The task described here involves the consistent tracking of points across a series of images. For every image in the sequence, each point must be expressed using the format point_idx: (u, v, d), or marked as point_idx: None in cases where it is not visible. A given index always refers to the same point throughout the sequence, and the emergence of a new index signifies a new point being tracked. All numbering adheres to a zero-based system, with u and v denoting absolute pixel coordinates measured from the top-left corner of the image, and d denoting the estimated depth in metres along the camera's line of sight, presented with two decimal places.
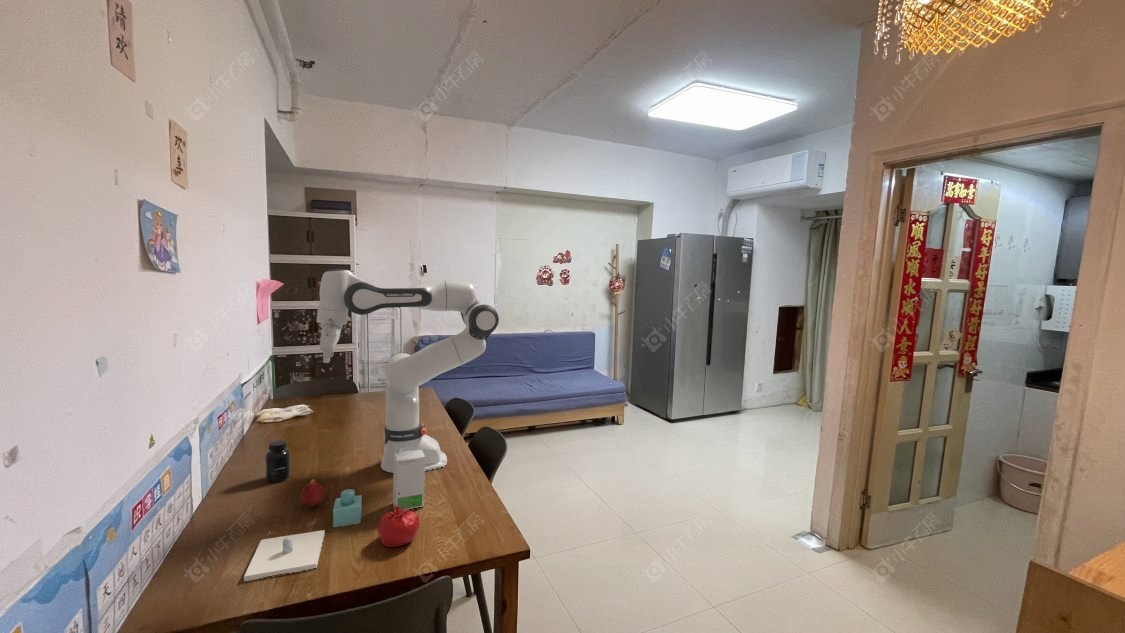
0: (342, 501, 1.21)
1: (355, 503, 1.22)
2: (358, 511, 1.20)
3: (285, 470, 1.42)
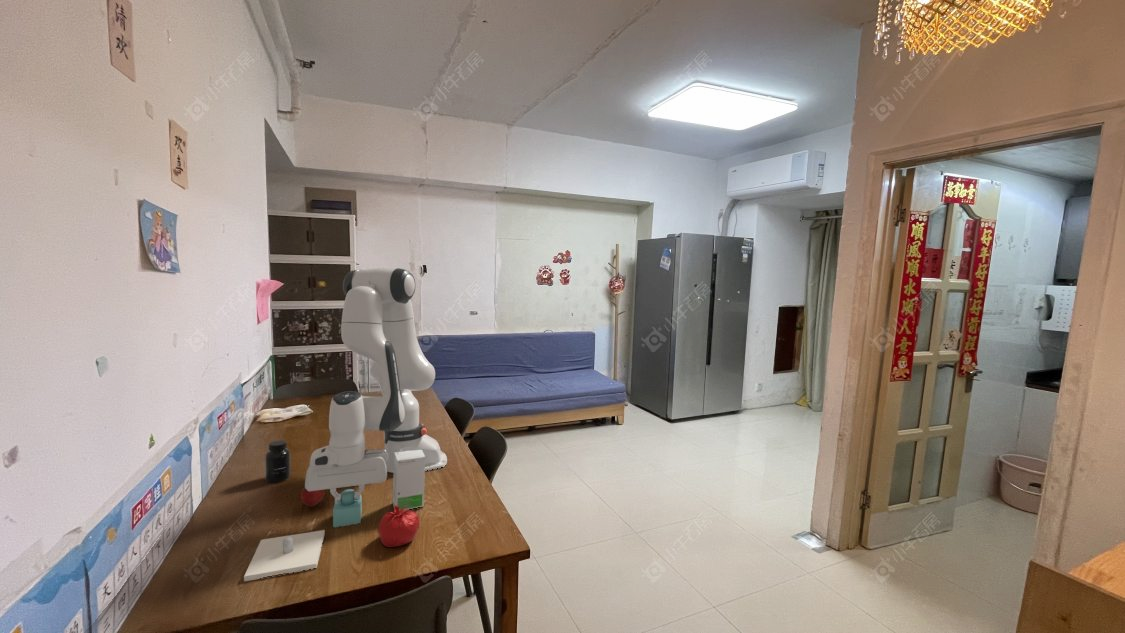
0: (342, 501, 1.21)
1: (355, 503, 1.22)
2: (358, 511, 1.20)
3: (285, 470, 1.42)
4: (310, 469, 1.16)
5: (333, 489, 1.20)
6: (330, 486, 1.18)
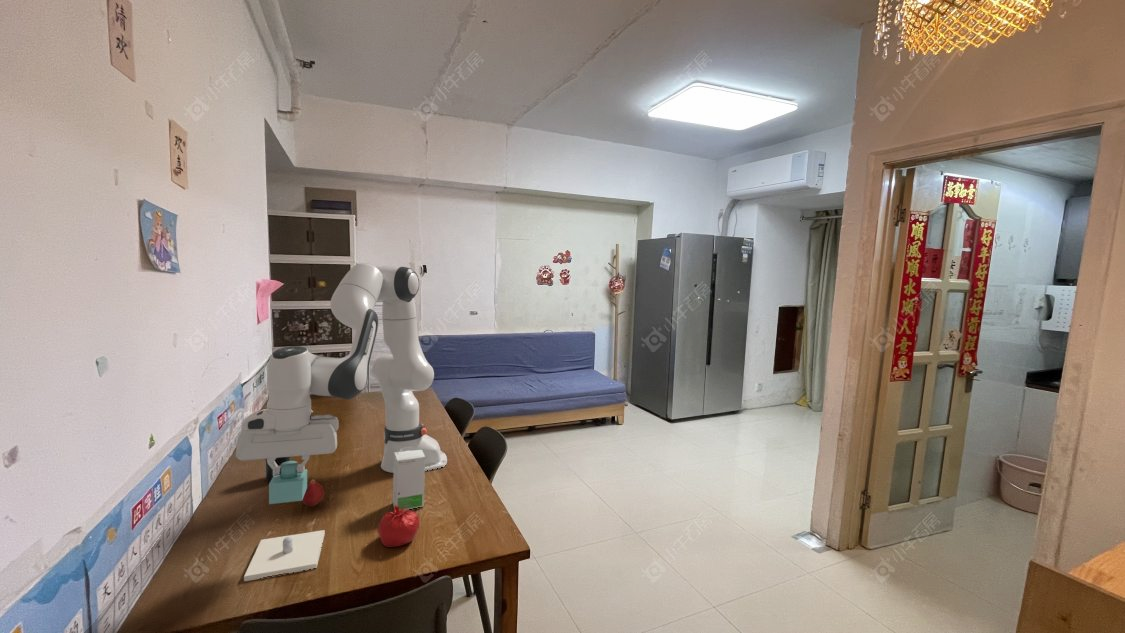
0: (281, 474, 1.03)
1: (297, 477, 1.04)
2: (300, 486, 1.03)
3: None
4: (242, 434, 0.99)
5: (271, 459, 1.02)
6: (267, 455, 1.01)
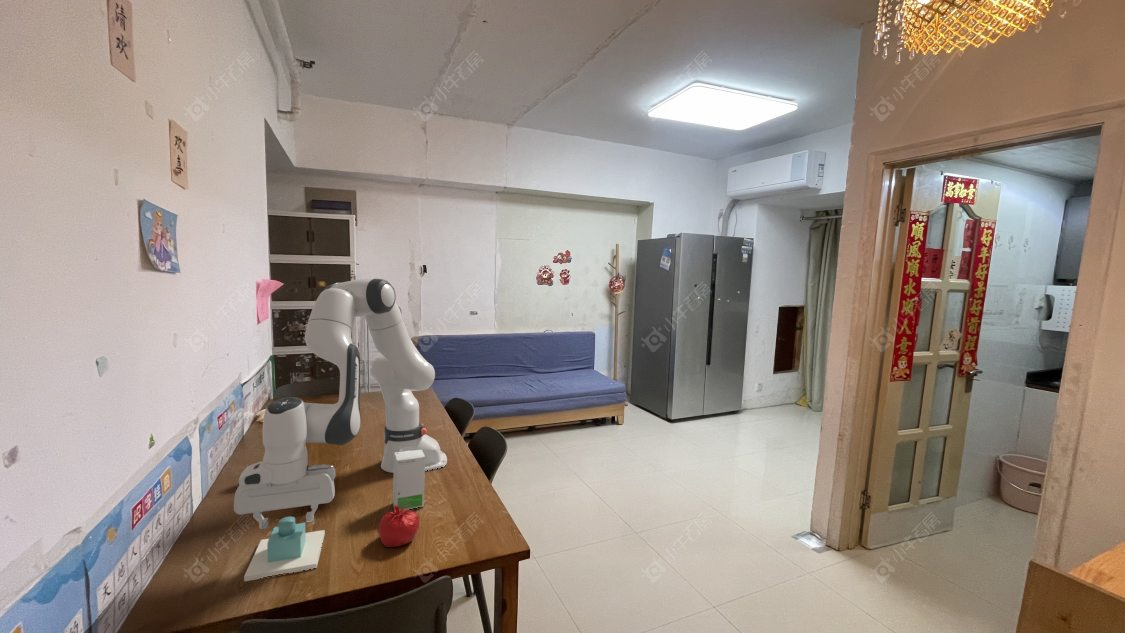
0: (279, 531, 1.04)
1: (295, 533, 1.05)
2: (298, 543, 1.04)
3: None
4: (239, 489, 0.99)
5: (257, 513, 1.02)
6: (264, 508, 1.02)
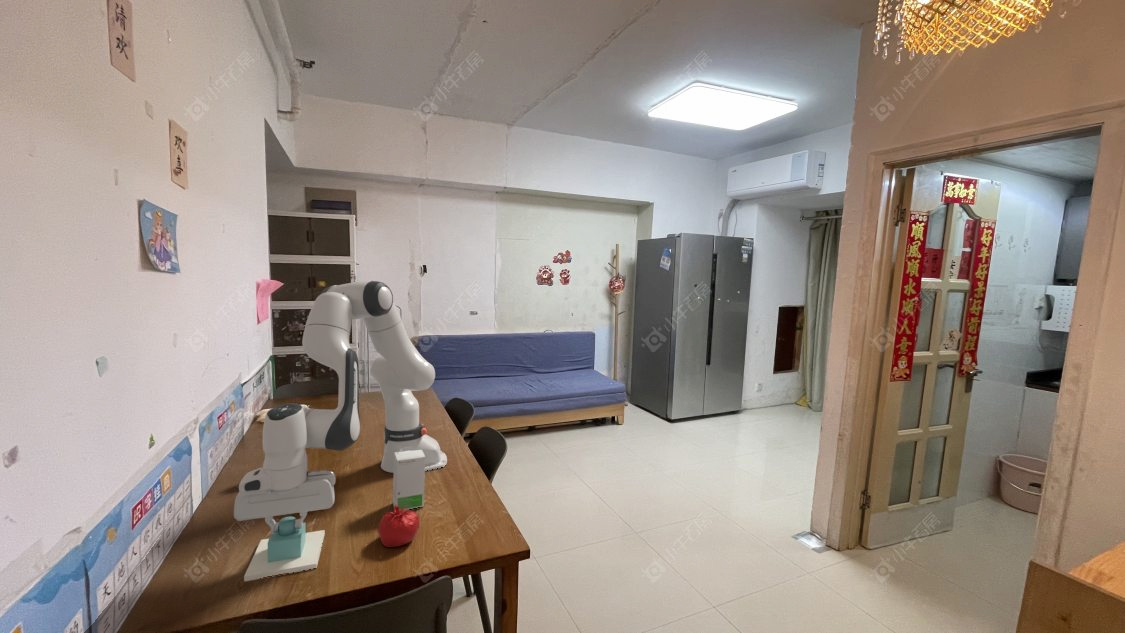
0: (280, 531, 1.04)
1: (295, 533, 1.05)
2: (298, 543, 1.04)
3: None
4: (239, 495, 0.99)
5: (269, 518, 1.03)
6: (264, 514, 1.02)
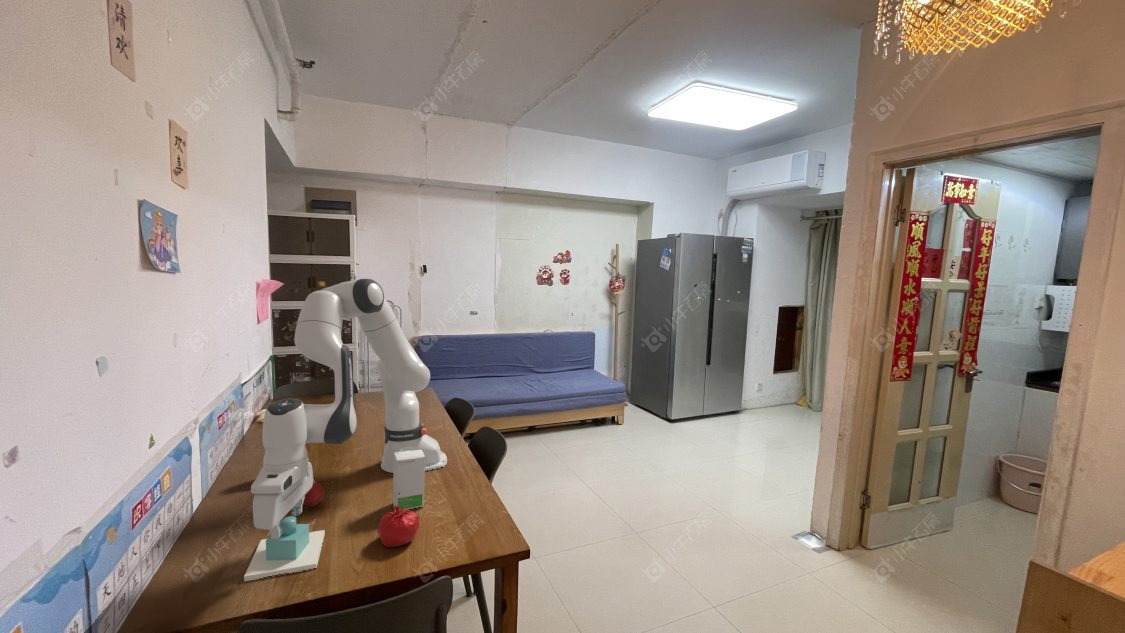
0: (290, 530, 1.05)
1: (297, 527, 1.08)
2: (308, 530, 1.09)
3: None
4: (277, 499, 0.96)
5: (278, 522, 0.99)
6: (286, 512, 1.01)
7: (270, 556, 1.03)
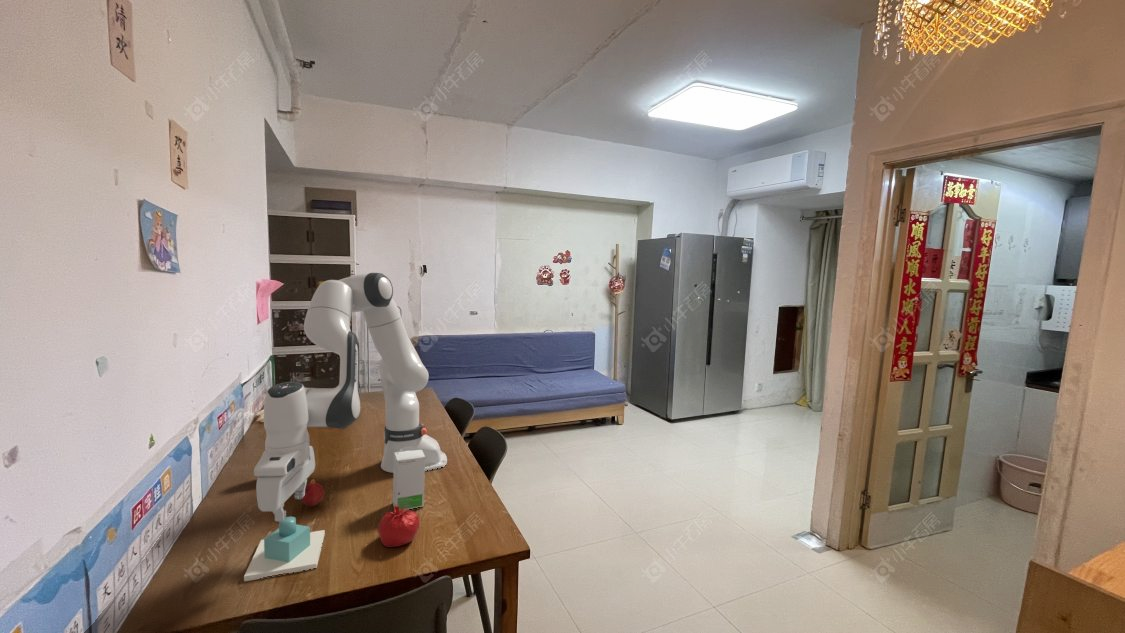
0: (295, 526, 1.06)
1: None
2: None
3: None
4: (281, 481, 0.96)
5: (282, 504, 0.99)
6: (289, 494, 1.01)
7: (292, 555, 1.03)
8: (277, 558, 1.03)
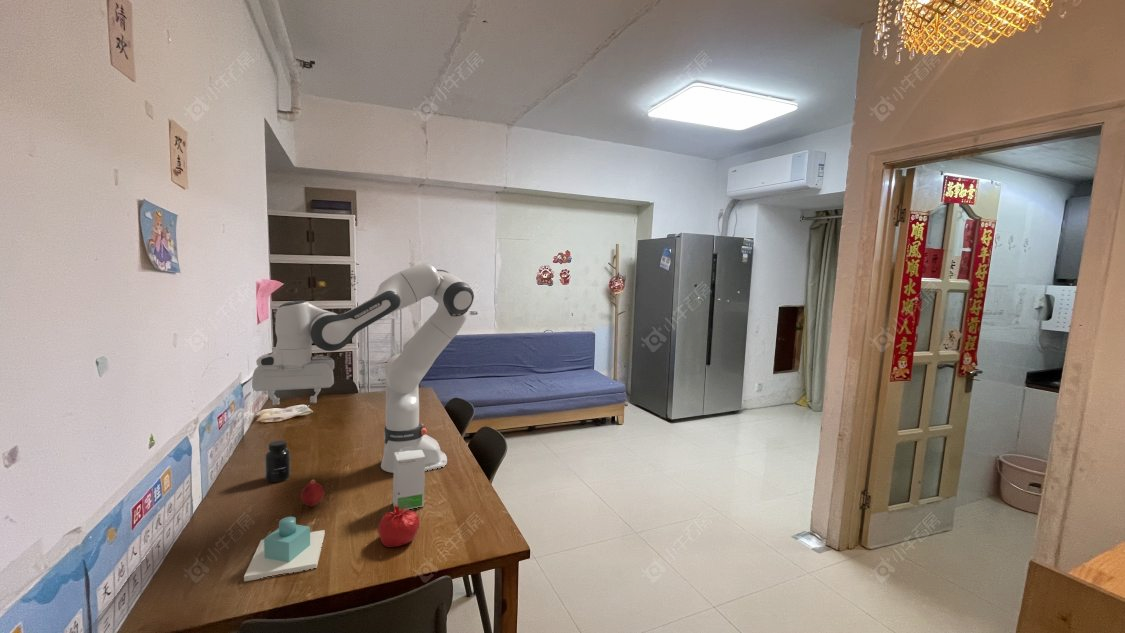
0: (295, 526, 1.06)
1: None
2: None
3: (285, 470, 1.42)
4: (257, 369, 1.23)
5: (270, 391, 1.26)
6: (277, 387, 1.25)
7: (292, 555, 1.03)
8: (277, 558, 1.03)
